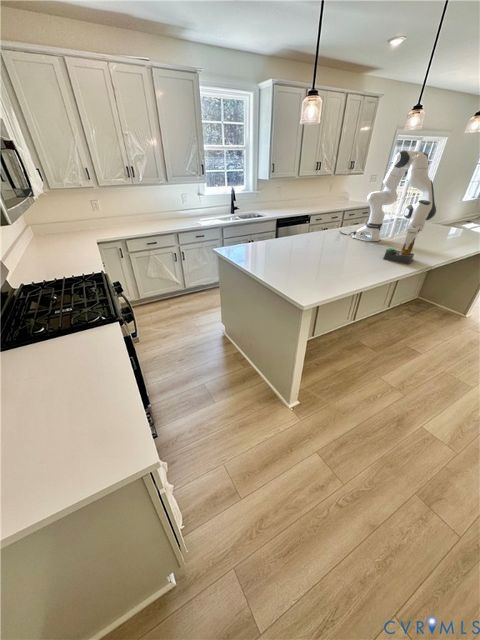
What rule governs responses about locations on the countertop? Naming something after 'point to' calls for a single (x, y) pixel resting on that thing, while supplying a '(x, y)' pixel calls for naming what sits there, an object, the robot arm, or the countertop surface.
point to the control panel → (397, 257)
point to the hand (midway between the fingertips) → (407, 247)
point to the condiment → (407, 251)
